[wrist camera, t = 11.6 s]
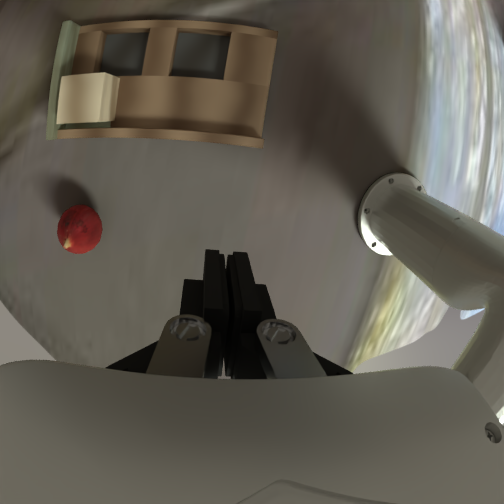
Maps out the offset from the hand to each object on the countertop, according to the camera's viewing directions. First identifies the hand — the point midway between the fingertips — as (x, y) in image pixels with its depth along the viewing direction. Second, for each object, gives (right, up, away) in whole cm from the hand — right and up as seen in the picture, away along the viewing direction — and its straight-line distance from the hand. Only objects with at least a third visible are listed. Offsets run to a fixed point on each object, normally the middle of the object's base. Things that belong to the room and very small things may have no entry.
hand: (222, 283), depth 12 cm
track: (-9, +21, +17) cm, 28 cm away
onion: (-20, +6, +23) cm, 31 cm away
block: (-16, +18, +14) cm, 28 cm away
